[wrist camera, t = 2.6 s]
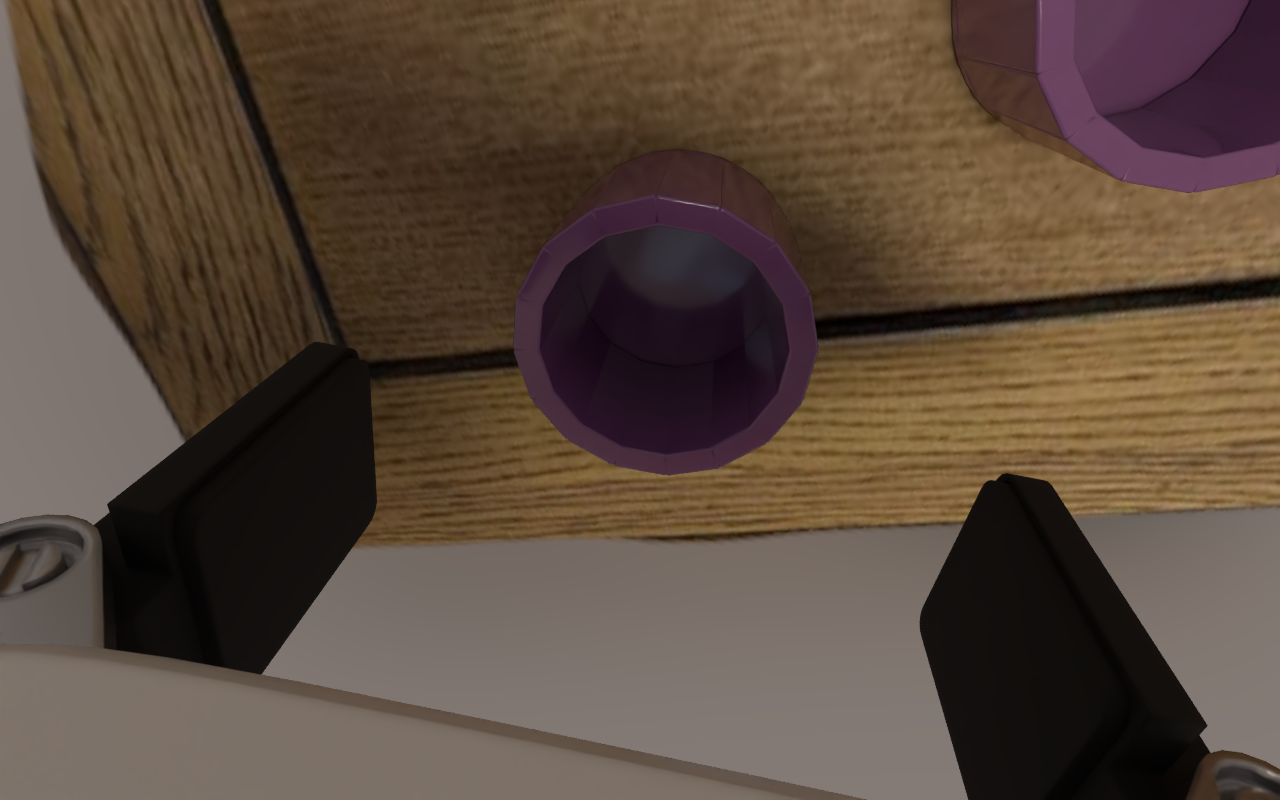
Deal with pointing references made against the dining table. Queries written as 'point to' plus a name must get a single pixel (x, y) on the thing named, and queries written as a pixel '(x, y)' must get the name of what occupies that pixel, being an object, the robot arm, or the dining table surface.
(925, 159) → the dining table surface
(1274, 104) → the purple hollow cylinder
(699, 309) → the purple cup
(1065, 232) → the dining table surface
